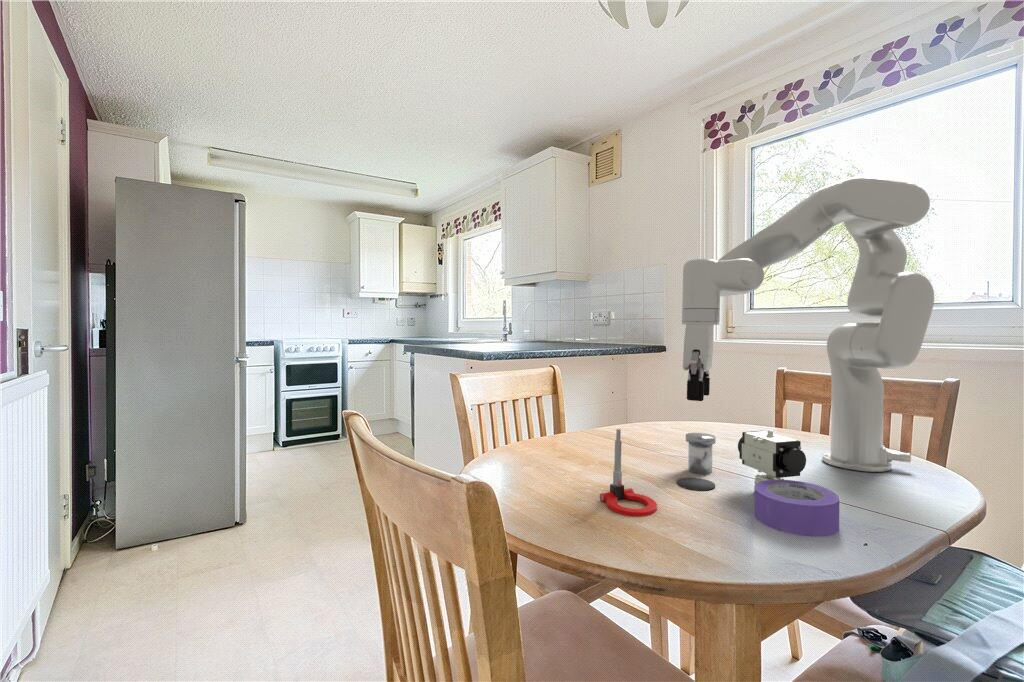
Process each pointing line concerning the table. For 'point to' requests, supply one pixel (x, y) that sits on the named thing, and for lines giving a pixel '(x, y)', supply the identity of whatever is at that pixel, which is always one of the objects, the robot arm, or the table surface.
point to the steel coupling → (700, 452)
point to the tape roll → (797, 507)
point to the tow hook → (619, 491)
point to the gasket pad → (696, 484)
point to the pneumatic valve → (771, 455)
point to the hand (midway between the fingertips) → (698, 397)
